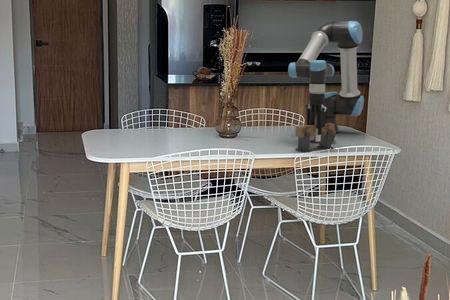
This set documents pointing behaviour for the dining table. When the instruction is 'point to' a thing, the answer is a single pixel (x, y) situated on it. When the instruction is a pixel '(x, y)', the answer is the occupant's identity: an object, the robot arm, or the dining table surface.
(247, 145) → the dining table surface
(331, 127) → the rail
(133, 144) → the dining table surface
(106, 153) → the dining table surface
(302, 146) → the standards
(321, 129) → the robot arm
